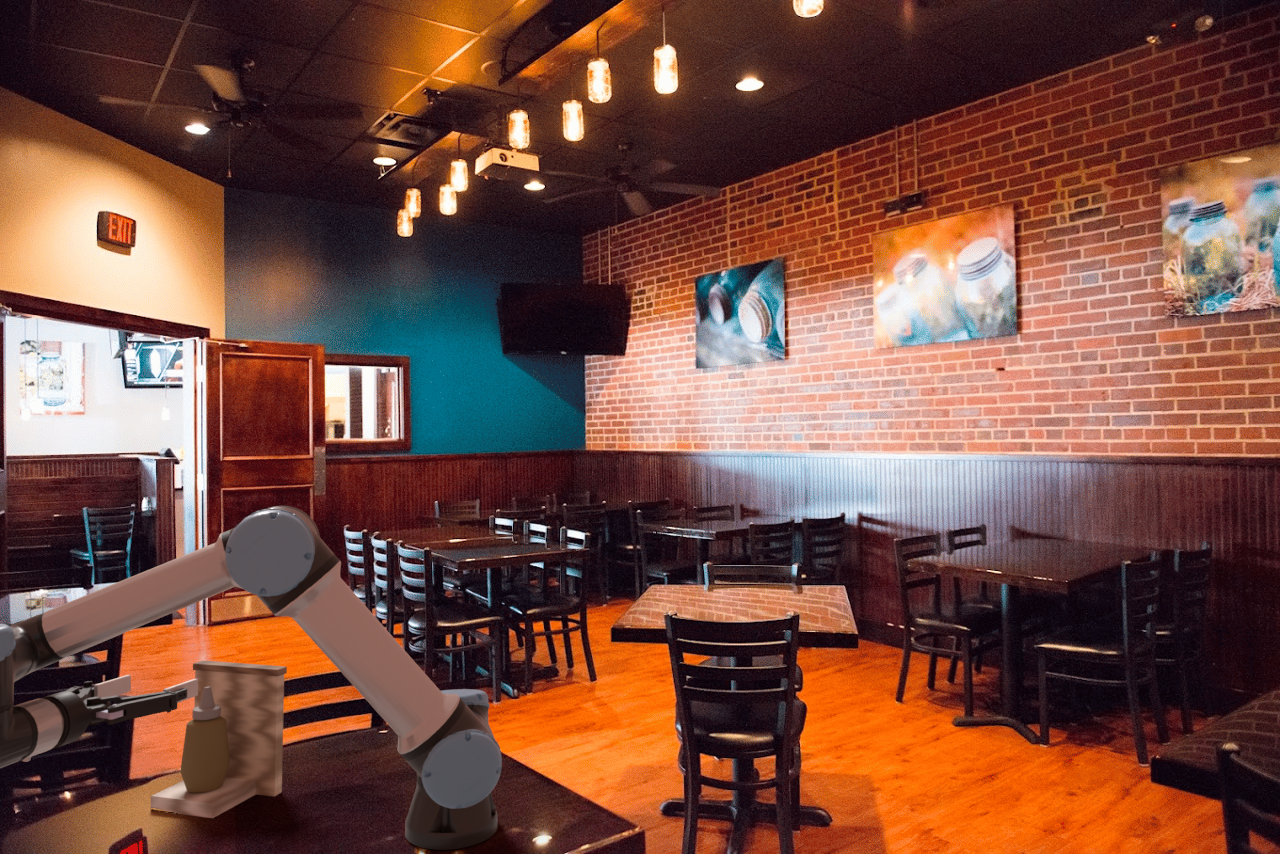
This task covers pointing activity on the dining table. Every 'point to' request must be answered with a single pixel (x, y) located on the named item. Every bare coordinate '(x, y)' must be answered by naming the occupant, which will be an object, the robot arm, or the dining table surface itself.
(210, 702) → the squeeze bottle
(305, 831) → the dining table surface
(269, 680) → the wooden display stand
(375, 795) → the dining table surface
